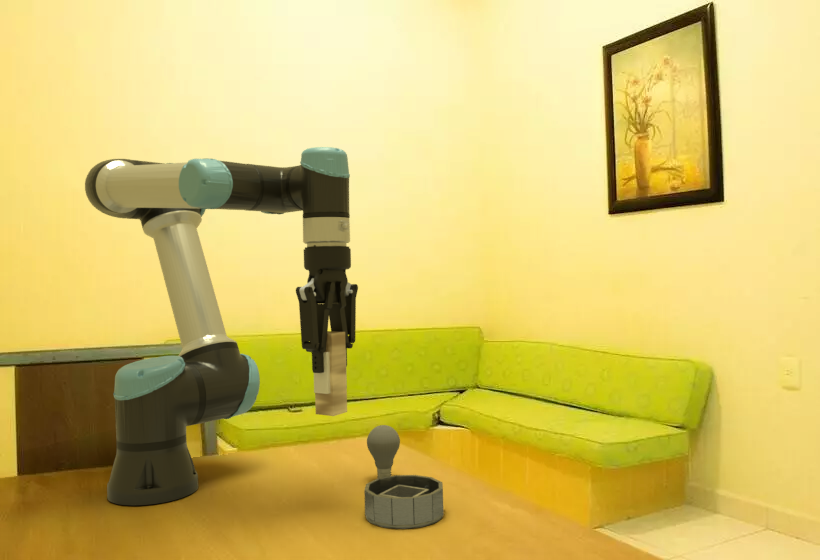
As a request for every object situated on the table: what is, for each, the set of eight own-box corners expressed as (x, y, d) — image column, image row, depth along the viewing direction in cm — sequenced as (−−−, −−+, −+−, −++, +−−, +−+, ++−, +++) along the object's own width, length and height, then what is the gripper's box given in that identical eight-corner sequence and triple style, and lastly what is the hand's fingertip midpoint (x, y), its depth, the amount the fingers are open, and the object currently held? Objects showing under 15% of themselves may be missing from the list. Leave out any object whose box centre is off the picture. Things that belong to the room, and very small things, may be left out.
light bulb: (397, 485, 126) (395, 429, 126) (364, 484, 128) (362, 428, 128) (404, 476, 132) (402, 422, 132) (372, 475, 134) (371, 421, 133)
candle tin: (350, 521, 109) (349, 491, 109) (393, 498, 120) (392, 471, 119) (418, 534, 103) (417, 503, 103) (457, 509, 113) (456, 480, 113)
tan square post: (315, 414, 115) (313, 333, 115) (329, 410, 118) (327, 331, 118) (333, 416, 113) (331, 334, 113) (347, 411, 116) (345, 331, 116)
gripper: (312, 243, 106) (316, 401, 107) (375, 245, 120) (378, 384, 121) (274, 245, 110) (278, 397, 111) (339, 246, 124) (343, 381, 125)
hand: (330, 390), depth 116 cm, fingers closed on tan square post, 4 cm apart
